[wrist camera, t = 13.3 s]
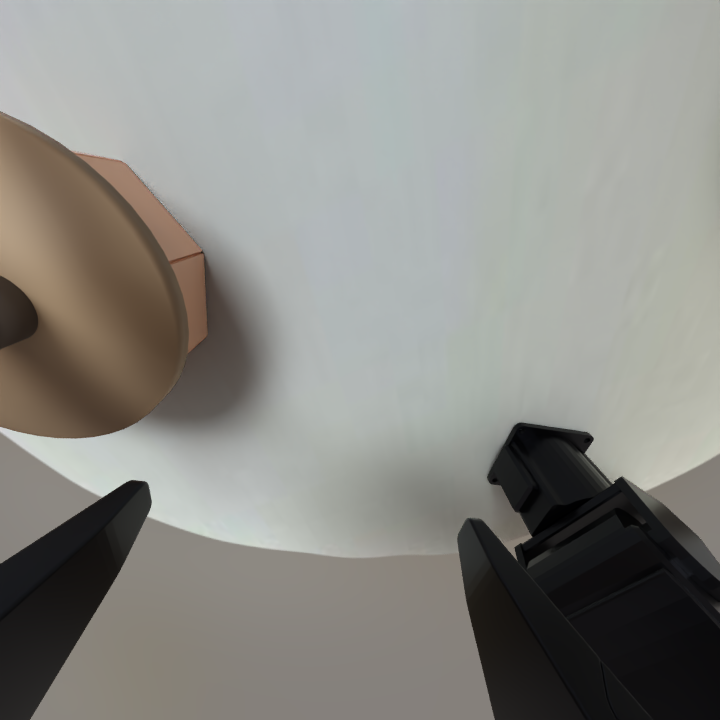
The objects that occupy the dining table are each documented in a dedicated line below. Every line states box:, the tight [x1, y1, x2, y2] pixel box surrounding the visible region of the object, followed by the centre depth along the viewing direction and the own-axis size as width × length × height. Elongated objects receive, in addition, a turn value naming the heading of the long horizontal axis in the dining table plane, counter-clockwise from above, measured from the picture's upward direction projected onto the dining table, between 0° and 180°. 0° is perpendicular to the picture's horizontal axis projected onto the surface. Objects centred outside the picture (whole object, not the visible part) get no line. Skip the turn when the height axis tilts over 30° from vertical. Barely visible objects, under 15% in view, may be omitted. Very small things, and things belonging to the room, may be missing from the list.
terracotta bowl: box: [70, 150, 208, 354], centre depth 16 cm, size 13×13×4 cm
